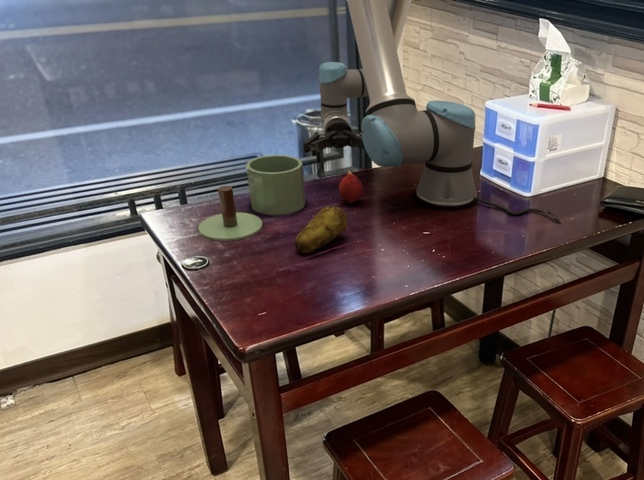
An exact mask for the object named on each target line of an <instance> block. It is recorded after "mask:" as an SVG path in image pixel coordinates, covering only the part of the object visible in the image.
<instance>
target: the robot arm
mask: <svg viewBox="0 0 644 480" xmlns="http://www.w3.org/2000/svg"><path fill="white" fill-rule="evenodd" d="M345 1H346V2H347V7H348V10H349V15H350V18H351V23H352V28H353V32H354V37H355V42H356V45H357V51H358V54H359V59H360V63H361V67H362V68H357V69H356V68H354V69H347V66H346V64H344V63H343V62H338V61H327V62H323V63H322V64H320V65H319V70H318V74H319V75H318V83H319V95H320V96H319V97H320V123H321V125H322V129H323V133H324V134H320V133H319V131H318V132H317V131H315V132H314V133H313V135H312V136H310V137H309V138H308V139H306V140H305V141H302V147H303V153H304V154H308V153H310V156H311V157H315V158H316V163H317V164H318V163H319V164H320V163H321V151H323V150H325V149H327V148H328V149H331V148H336V149H342V148H345V147H350V148H355V147H356V148H359V149H362V150H365V152H366V153H367V156H368V157H369V158H370V161H371V162H373V163H374V164H375V165H377V166H378V167H380V168H387V167H388V168H389V167H394V168H398V167H400V166H405V165H412V164H418V163H419V164H420V163H424V168H423V170H422V173H421V176H420V181H419V183H418V184H417V188H416V199H417V200H418V202H420V203H421V204H423V205H425V206H427V207H430V208H436V209H442V210H458V209H465V208H468V207H470V206H472V205H474V204H475V203H476V202H480V203H482V204H486V205H489V206H492V207H495V208H498V209H500V210H503V211H505V212H506V213H507V214H510V215H514V216H518V215H522V214H525V213H529V212H536V213H544V214H546V213H545V212H543V211H540V210H538V209H539V208H531V207H530V208H525V209H522V210H520V211H512V210H510V209H508V208H507V207H505V206H502V205H500V204H497V203H494V202H492V201H489V200H486V199H483V198H480V197H478V191H477V187H476V185H475V179H474V174H473V169H472V168H473V156H474V143H475V134H476V133H475V132H476V129H477V127H476V112H475V111H474V110H473V109H472V108H471V107H469V106H468V105H465V104H462V103H457V102H455V101H448V100H430V101H427V103H426V105H425V110H418V108H417V104H416V100H415V99H414V98H413V97H411V96H410V95H408V93H407V89H406V85H405V81H404V75H403V72H402V68H401V63H400V59H399V54H398V49H399V46H400V42H401V38H402V35H403V32H404V28H405V25H406V23H407V22H406V21H407V18H408V15H409V11H410V8H411V4H412V1H413V0H345ZM363 97H368V99H369V105H368V106H367V108H366V110H365V115H366V116H365V117H363V119H362V121H361V124H360V130H361V131H360V132H359V133H357V134H356V133H355V132H353V128H352V127H351V124H350V121H349V119H348V118H349V117H348V99H350V98H351V99H352V98H363ZM545 210H546V211H547V212H548V213H549V214H551V215H553V216H556V215H555V213H553V212H551V211H549V210H547V209H545ZM549 214H548V215H549ZM553 220H555V222H556V223H557V224H558V225H562V222H561V220H560V219H559V218H558V217H557V219H556V218H553ZM556 312H557V308H556V309H555V310H553V309H552V313H551V318H550V322H549V323H550V324H549V329H548V333H547V340H548V339H549V338H552V332H553V327H554V321H555V317H556Z"/></svg>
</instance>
